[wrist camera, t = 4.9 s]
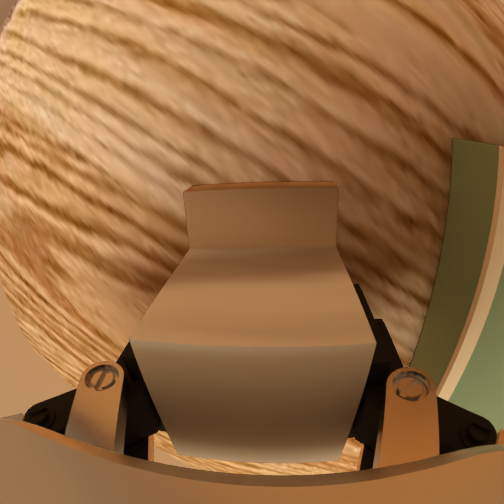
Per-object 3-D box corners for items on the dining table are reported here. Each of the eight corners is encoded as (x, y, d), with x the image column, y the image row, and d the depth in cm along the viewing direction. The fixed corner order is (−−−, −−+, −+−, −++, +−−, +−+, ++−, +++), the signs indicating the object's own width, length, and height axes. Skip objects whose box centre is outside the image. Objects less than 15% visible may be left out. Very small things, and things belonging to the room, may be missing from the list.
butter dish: (193, 185, 11) (103, 250, 5) (332, 181, 10) (394, 246, 4) (217, 369, 14) (190, 477, 8) (318, 370, 14) (329, 482, 8)
